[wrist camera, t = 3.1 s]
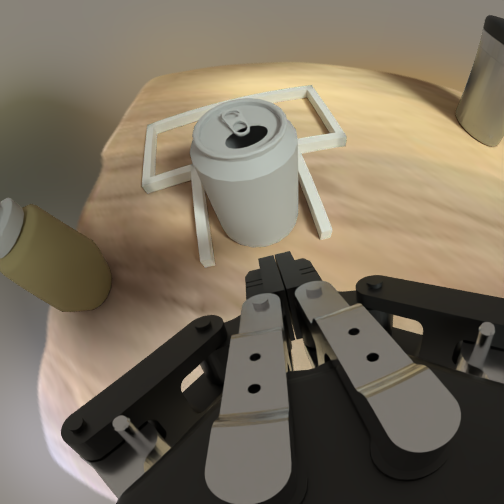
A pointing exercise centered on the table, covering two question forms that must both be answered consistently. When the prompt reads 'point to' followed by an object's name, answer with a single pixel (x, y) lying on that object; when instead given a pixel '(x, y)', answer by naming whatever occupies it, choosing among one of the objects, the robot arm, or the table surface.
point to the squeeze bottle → (51, 259)
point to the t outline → (189, 173)
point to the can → (249, 169)
